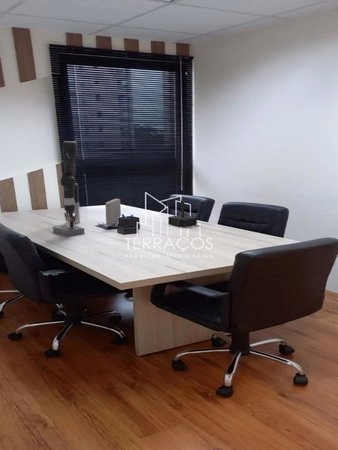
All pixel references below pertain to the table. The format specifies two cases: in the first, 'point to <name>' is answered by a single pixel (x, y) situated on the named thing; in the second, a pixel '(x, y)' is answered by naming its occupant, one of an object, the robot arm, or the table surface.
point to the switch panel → (68, 230)
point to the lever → (69, 224)
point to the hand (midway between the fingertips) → (70, 226)
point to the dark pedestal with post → (182, 218)
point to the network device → (113, 211)
